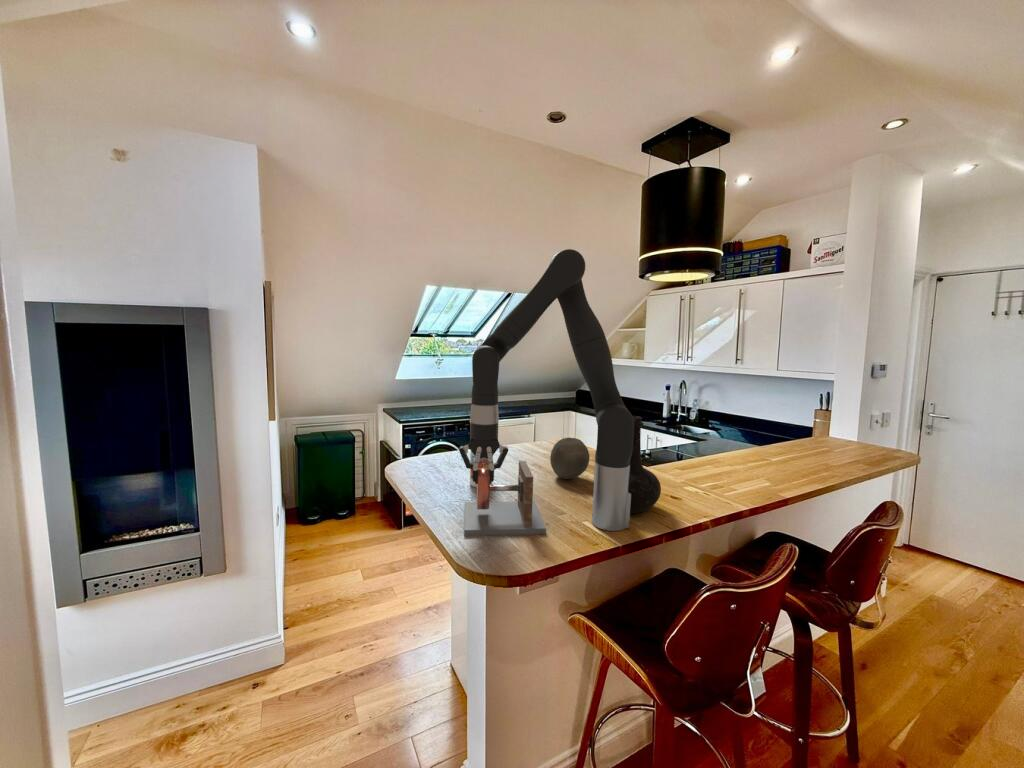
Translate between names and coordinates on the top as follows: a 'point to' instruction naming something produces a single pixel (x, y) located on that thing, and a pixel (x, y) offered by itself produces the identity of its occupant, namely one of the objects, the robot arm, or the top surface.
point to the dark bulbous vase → (641, 477)
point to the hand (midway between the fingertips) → (483, 482)
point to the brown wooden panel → (525, 492)
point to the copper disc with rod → (489, 488)
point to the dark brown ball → (569, 458)
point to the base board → (500, 520)
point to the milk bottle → (482, 464)
